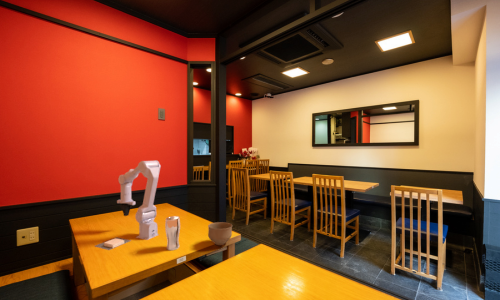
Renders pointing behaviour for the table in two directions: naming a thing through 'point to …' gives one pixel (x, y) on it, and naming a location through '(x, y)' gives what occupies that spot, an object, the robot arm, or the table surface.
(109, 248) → the mat
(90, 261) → the table surface
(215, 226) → the bowl
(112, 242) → the block
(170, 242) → the beer glass
